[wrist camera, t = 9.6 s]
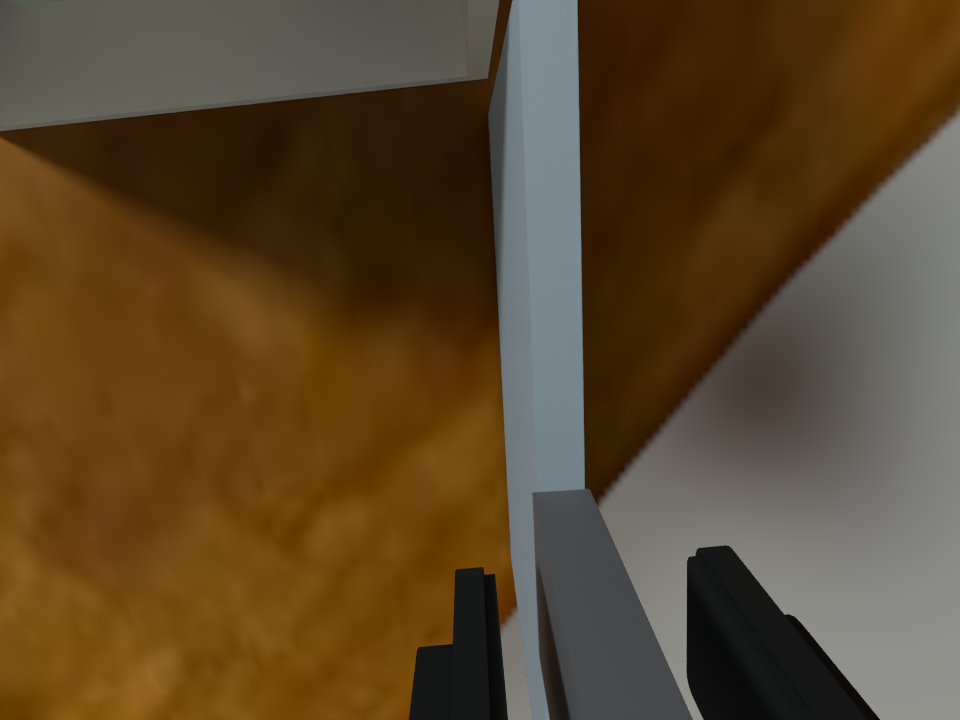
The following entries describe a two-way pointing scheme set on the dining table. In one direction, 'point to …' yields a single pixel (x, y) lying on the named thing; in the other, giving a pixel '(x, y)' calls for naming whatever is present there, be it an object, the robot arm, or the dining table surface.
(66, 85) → the carton
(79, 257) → the dining table surface
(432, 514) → the dining table surface
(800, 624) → the robot arm
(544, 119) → the flap
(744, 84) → the dining table surface
